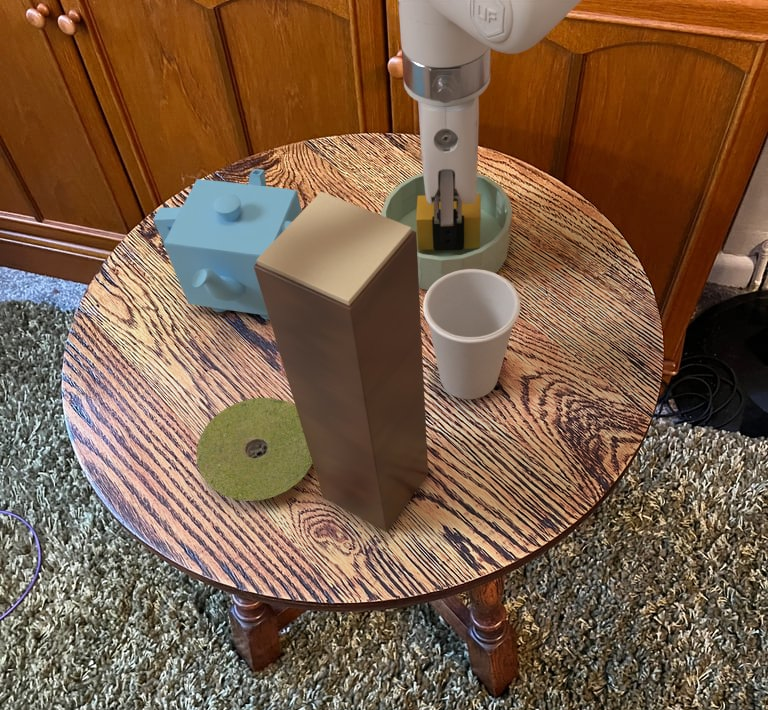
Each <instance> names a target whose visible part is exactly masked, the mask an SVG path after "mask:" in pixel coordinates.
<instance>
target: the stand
mask: <svg viewBox="0 0 768 710" xmlns="http://www.w3.org/2000/svg"><path fill="white" fill-rule="evenodd" d="M301 211H302V212H301V213H300V214H299V215H298V216H297V217H296V219H295V220H294V221H293V222H292V223H291V224H290V225H289V226H288V227H287V228H286V229H285V230H284V231H283V232H282V233H281V234H280V235H279V236H278V238H277V239H276V240H275V241H274V242H273V243H272V244H271V245H270V246H269V247H268V248H267V249H266V250H265V251H264V252H263V253H262V254H261V255H260V257H259V258H258V259H257V263H256V264H255V265H254V270H255V273H256V276H257V280H258V283H259V286H260V290H261V293H262V296H263V300H264V303H265V306H266V310H267V313H268V316H269V319H268V320H269V323H270V326H271V330H272V332H273V335H274V339H275V342H276V346H277V349H278V352H279V356H280V359H281V363H282V366H283V369H284V372H285V376H286V380H287V383H288V386H289V389H290V393H291V395H292V400H293V402H294V403H293V404H294V405H295V406H296V409H297V413H298V416H299V419H300V423H301V426H302V429H303V433H304V436H305V439H306V443H307V446H308V449H309V453H310V456H311V459H312V462H313V463H312V465H313V469H314V472H315V476H316V479H317V482H318V485H319V489H320V492H321V495H322V498H323V499H325V500H327V501H329V502H331V503H332V504H334V505H336V506H338V507H340V508H341V509H343V510H345V511H347V512H349V513H350V514H352V515H354V516H356V517H358V518H359V519H360V520H363V521H365V522H366V523H369V524H370V525H373V526H374V527H375V528H378V529H380V530H381V531H383V532H385V533H388V532H389V530H390V529H391V527H392V526H393V525H394V523H395V522H396V521H397V519H398V518H399V517H400V515H401V514H402V512H403V511H404V510H405V508H406V506H407V505H408V504H409V502H410V501H411V500H412V498H413V497H414V495H415V494H416V493H417V491H418V489H419V488H421V486H422V483H423V482H424V481H425V480H426V478H427V477H428V475H429V458H428V439H427V438H428V437H427V436H428V435H427V419H426V400H425V399H426V398H425V379H424V359H423V340H422V337H423V336H422V322H421V319H422V318H421V300H420V288H419V277H418V257H417V237H416V232H415V231H412V228H411V227H409V226H407V225H404V224H402V223H399V222H397V221H394V220H392V219H389V218H387V217H384V216H382V215H381V214H379V213H377V212H374V211H371V210H369V209H366V208H364V207H361V206H358V205H356V204H354V203H352V202H350V201H346V200H344V199H341V198H339V197H336V196H334V195H331V194H329V193H326V192H324V191H320V192H319V193H318V194H317V195H316V196H315V197H314V198H313V199H312V201H310V202H309V204H307V206H305V208H304V209H303V210H301Z"/></svg>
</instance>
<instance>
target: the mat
mask: <svg viewBox="0 0 768 710" xmlns="http://www.w3.org/2000/svg"><path fill="white" fill-rule="evenodd" d="M195 454H196V464H197V467H198V471H199V473H200V476H201V478H202V479H203V480H204V481H205V483H206V484H207V485H208V486H209V487H210V488H212V490H213V491H216V492H217V493H218V494H220V495H222V496H224V497H227V498H228V499H233V500H236V501H244V502H248V501H249V502H256V501H258V502H260V501H263V500H267V499H272V498H273V497H277V496H279V495H281V494H283V493H286V492H287V491H288V490H291V488H293V487H294V486H295V485H297V484H298V483H299V482H301V481H302V479H303V478H304V477H305V476H306V474H307V473H308V472H309V469H311V467H312V465H313V462H312V459H311V456H310V453H309V449H308V446H307V443H306V439H305V436H304V433H303V429H302V426H301V423H300V419H299V416H298V413H297V409H296V406H295V403H291V402H289V401H288V400H287V401H286V400H283V399H279V398H272V397H256V398H248V399H245V400H241V401H239V402H236V403H234V404H232V405H230V406H228V407H226V408H224V409H223V410H222V411H220V412H219V413H218V414H216V415H215V416H214V417H213V418H212V419H211V420H210V421H209V422H208V424H207V425H205V428H204V429H203V431H202V433H201V435H200V437H199V440H198V443H197V447H196V453H195Z"/></svg>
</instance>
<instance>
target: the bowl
mask: <svg viewBox="0 0 768 710" xmlns="http://www.w3.org/2000/svg"><path fill="white" fill-rule="evenodd" d="M477 194H481V224H480V248H472V249H462V250H442V251H436V250H418V239H417V257H418V277H419V289H421V290H424V291H428V290H429V288H430V287H431V286H432V285H433V284H434V283H435V282H436V281H437V280H439V279H440V278H441V277H443V276H445V275H447V274H449V273H452V272H455V271H459V270H465V269H480V270H486V271H490V272H493V273H496V274H497V272H499V270H501V268H502V266H503V265H504V264H505V261H506V259H507V257H508V254H509V250H510V249H509V248H510V243H511V235H512V223H513V208H512V203H511V199H510V197H509V195H508V194H507V193H506V192H505V190H504V189H503V187H502V186H501V185H500V184H498V183H497V182H495V181H494V180H493V179H491V178H490V177H488V176H487V175H483V174H481V173H478V172H477ZM423 195H425V186H424V177H423V172H422V173H418V174H415V175H413V176H411V177H409V178H408V179H406V180H404V181H403V182H401V183H400V184H397V185H396V187H395V188H393V190H392V191H391V192H390V193H389V195H388V196H387V197H386V199H385V201H384V204H383V206H382V209H381V213H380V215H382V216H384V217H387V218H389V219H392V220H394V221H397V222H399V223H402V224H404V225H407V226H409V227H411V228H412V231H415V232H416V237H417V223H416V216H417V197H418V196H423Z"/></svg>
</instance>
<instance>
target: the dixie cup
mask: <svg viewBox="0 0 768 710" xmlns="http://www.w3.org/2000/svg"><path fill="white" fill-rule="evenodd" d="M422 311H423V316H424V319H425V321H426V323H427V324H428V328H429V333H430V337H431V341H432V347H433V352H434V356H435V360H436V365H437V370H438V375H439V379H440V383H441V385H442V388H444V390H445V391H446V392H447V393H448V394H449V395H451V396H453V397H455V398H457V399H461V400H477V399H480V398H483V397H485V396H486V395H487V396H488V394H489V393H491V392H492V391H493V390H494V389H495V387H496V385H498V380H499V377H500V374H501V370H502V366H503V363H504V359H505V356H506V353H507V349H508V345H509V342H510V339H511V334H512V332H513V329H514V325H515V323H517V320H518V318H519V316H520V312H521V299H520V296H519V293H518V290H517V289H516V287H514V285H513V284H512V283H511V282H510V281H509V280H508V279H506V278H504V277H503V276H502V275H500V274H498V273H497V272H496V273H493V272H490V271H486V270H480V269H465V270H459V271H455V272H452V273H449V274H447V275H445V276H443V277H441V278H440V279H439V280H437V281H436V282H435V283H434V284H433V285H432V286H431V287H430V288H429V290H426V293H425V295H424V298H423V303H422Z"/></svg>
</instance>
